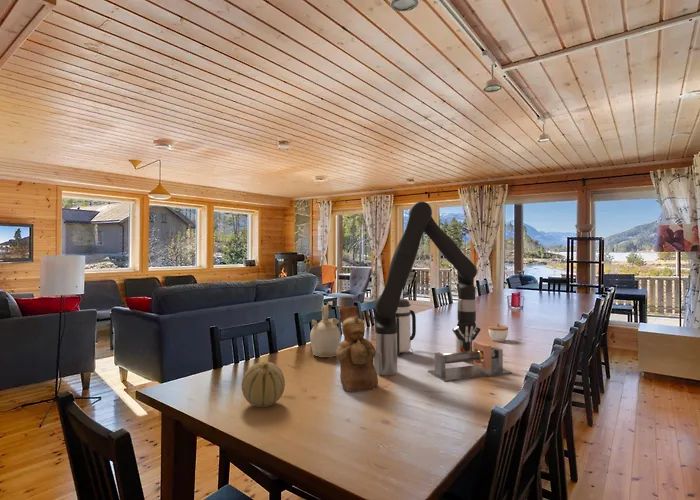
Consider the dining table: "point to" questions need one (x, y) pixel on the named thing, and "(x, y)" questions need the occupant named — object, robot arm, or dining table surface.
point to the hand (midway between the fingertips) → (466, 350)
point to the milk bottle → (461, 345)
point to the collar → (486, 354)
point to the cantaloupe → (263, 384)
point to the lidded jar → (498, 332)
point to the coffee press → (404, 326)
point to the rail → (467, 371)
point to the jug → (325, 336)
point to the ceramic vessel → (355, 353)
